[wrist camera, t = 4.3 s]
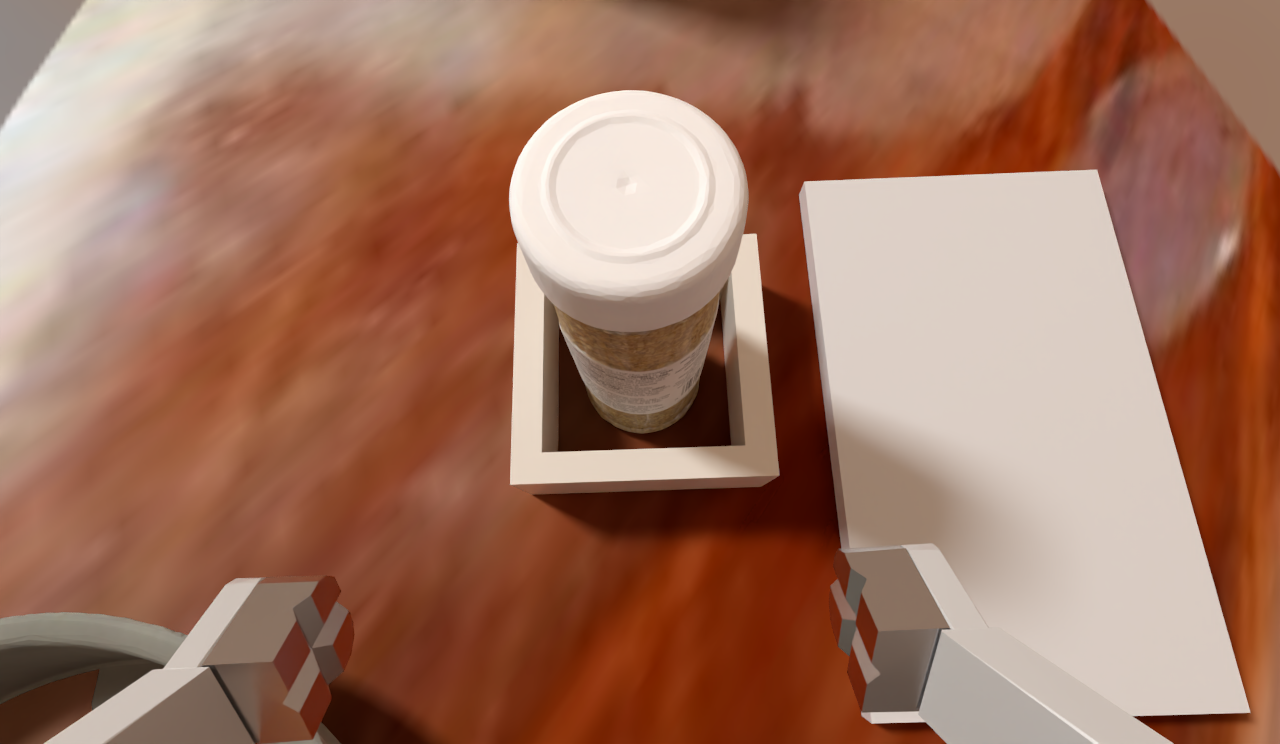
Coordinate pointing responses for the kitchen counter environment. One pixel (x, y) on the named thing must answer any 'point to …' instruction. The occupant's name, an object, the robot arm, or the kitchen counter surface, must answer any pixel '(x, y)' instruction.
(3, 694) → the cake pan
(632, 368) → the sprinkles bottle
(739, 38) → the kitchen counter surface
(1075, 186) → the white board
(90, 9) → the kitchen counter surface
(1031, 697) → the robot arm
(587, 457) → the stand
